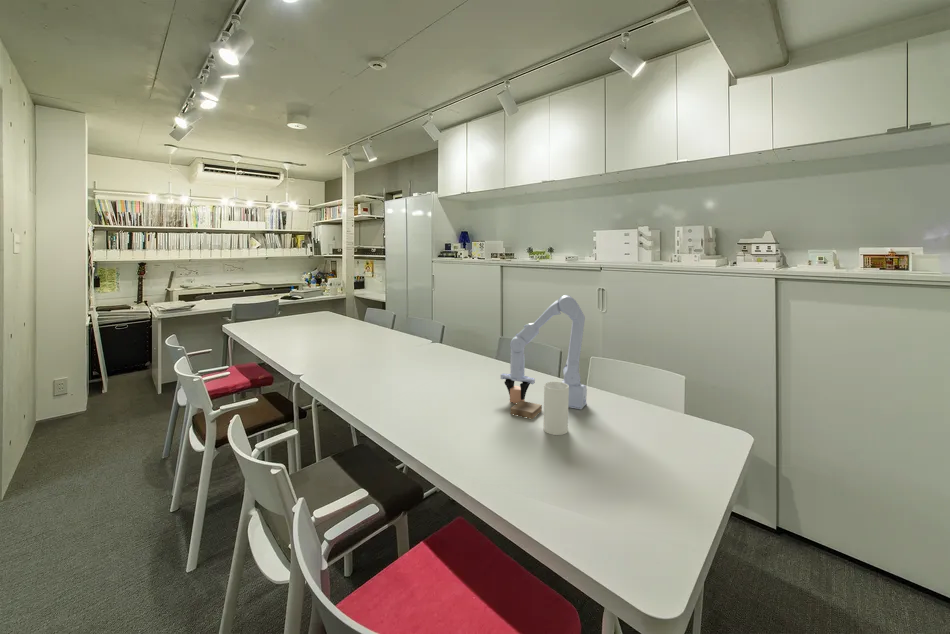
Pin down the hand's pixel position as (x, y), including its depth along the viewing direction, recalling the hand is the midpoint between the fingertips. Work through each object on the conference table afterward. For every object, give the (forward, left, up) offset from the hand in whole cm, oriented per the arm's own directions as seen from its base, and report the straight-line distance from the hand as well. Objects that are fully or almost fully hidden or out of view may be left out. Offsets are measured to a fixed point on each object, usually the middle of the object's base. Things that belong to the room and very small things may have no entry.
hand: (517, 397), depth 166 cm
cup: (-23, +18, -2) cm, 29 cm away
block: (0, 0, -2) cm, 2 cm away
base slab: (-8, +9, -2) cm, 12 cm away
